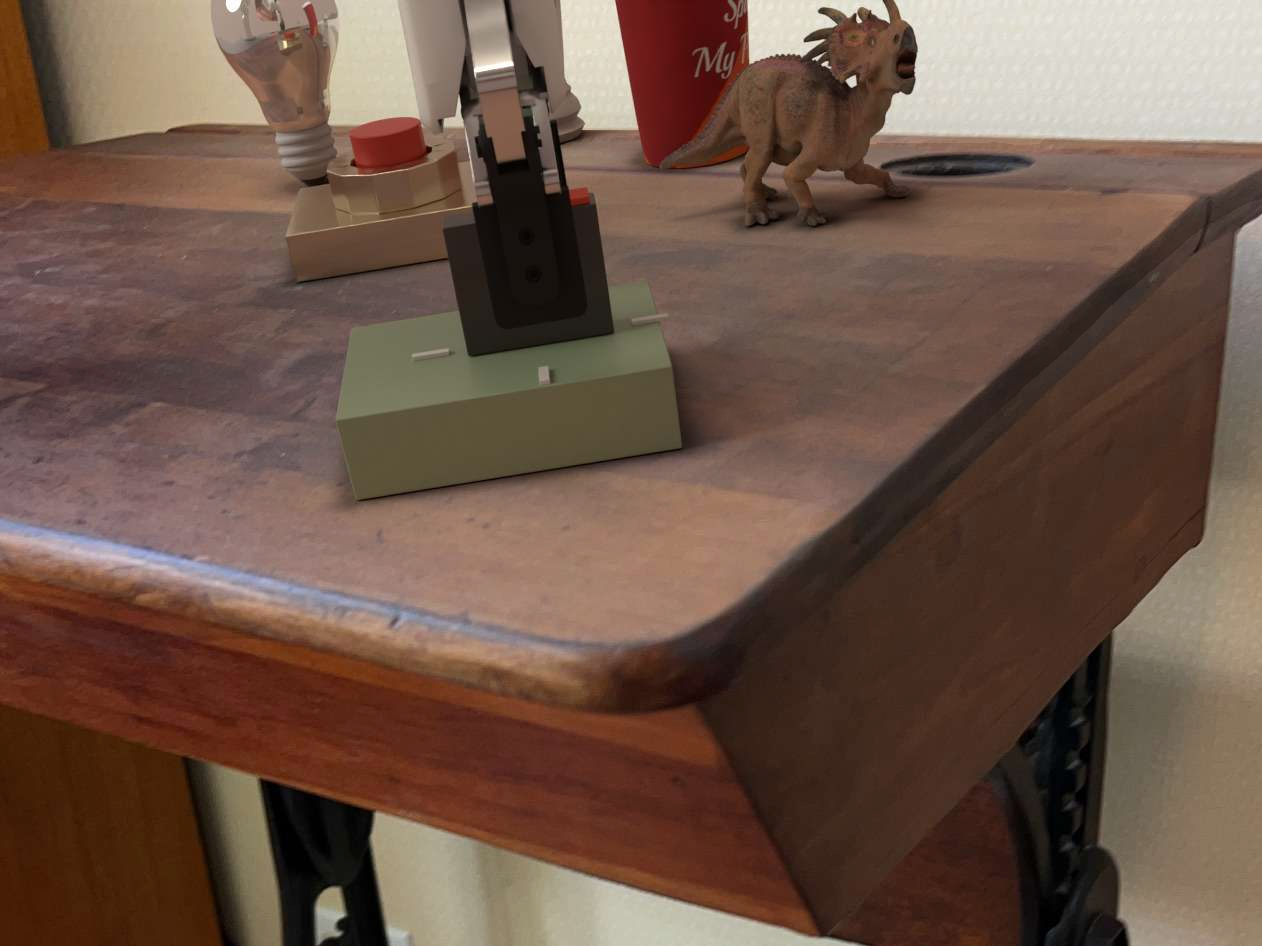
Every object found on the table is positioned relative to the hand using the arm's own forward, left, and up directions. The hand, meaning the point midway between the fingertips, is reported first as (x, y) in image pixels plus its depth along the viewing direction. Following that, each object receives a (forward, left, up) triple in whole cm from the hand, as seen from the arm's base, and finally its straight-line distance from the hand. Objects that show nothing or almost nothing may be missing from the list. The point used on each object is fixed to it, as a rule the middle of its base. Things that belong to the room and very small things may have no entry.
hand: (538, 277), depth 60 cm
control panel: (-2, 0, -5) cm, 6 cm away
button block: (-7, +28, -5) cm, 29 cm away
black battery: (0, 0, -2) cm, 2 cm away
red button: (-7, +28, -2) cm, 29 cm away
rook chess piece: (+1, +45, -5) cm, 45 cm away
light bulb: (-13, +43, -5) cm, 45 cm away
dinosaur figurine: (+13, +22, -5) cm, 26 cm away
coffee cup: (+9, +36, -5) cm, 38 cm away
